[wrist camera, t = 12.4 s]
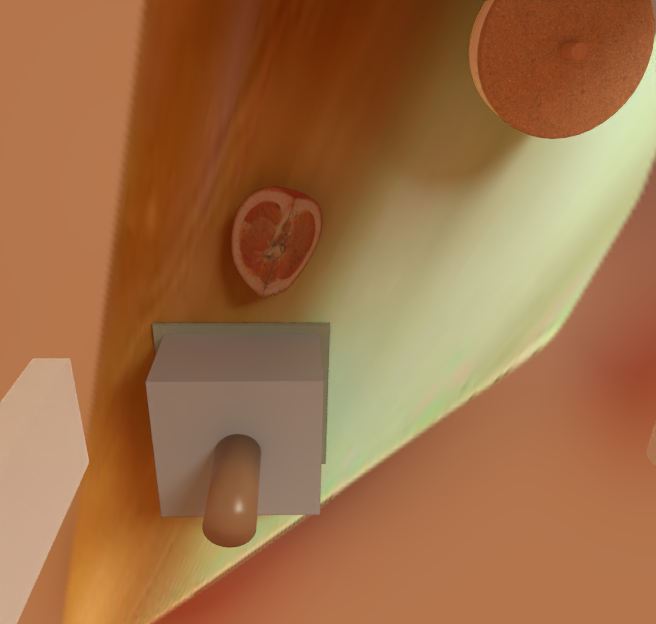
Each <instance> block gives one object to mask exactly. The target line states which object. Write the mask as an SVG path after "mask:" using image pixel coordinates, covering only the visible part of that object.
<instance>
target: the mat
mask: <svg viewBox="0 0 656 624" xmlns="http://www.w3.org/2000/svg"><path fill="white" fill-rule="evenodd" d="M152 328H153V338H154V347H155V356H156V354H157V351H158V349H159V346H160V344H161V341H162V339H163V336H164V334H319V335H320V346H321V358H322V369H323V381H324V382H323V418H322V454H321V464H325V461H326V429H327V397H328V366H329V334H330V323H153V324H152Z"/></svg>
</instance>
